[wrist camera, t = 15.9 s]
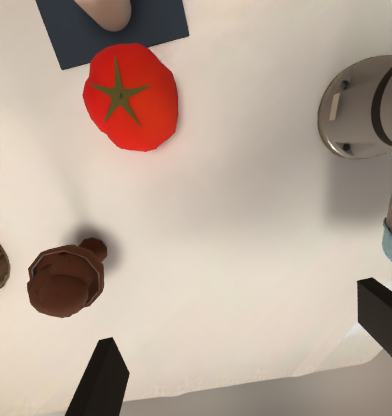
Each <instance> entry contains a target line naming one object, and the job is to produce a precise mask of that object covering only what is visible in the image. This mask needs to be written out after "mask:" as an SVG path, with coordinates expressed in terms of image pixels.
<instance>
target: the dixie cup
mask: <svg viewBox="0 0 392 416" xmlns="http://www.w3.org/2000/svg"><path fill="white" fill-rule="evenodd" d="M74 1H75V2H76V3H77V4H78V5H79V6H80V7H81V8H82V9H83V10H84V11H85V12H86V13H87V14H89V15H90V16H91V17H92V18H93V19H94V20H95V21H96V22H97V23H98V24H99V25H100V26H101V27H102V28H104V29H106V30H108V31H113V32H114V31H119V30H122V29H123V28H124V27H125V26H126V25H127V24H128V22H129V20H130V17H131V3H130V0H74Z"/></svg>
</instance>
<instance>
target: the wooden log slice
mask: <svg viewBox="0 0 392 416" xmlns="http://www.w3.org/2000/svg"><path fill="white" fill-rule="evenodd" d="M9 273H10V264H9V261H8V257H7V255H6V253H5V252H4V250H3V248H2V247H1V245H0V289H1V288H2V287H3V286H4V285H5V283H6V282H7V280H8V278H9Z"/></svg>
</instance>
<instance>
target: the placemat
mask: <svg viewBox="0 0 392 416" xmlns="http://www.w3.org/2000/svg"><path fill="white" fill-rule="evenodd" d="M36 3H37V6H38V8H39V11H40V14H41V16H42V19H43V22H44V24H45V27H46V30H47V32H48V35H49V38H50V40H51V43H52V46H53V48H54V51H55V54H56V56H57V59H58V61H59V64H60V67H61V69H62V70H64V69H68V68H72V67H76V66H79V65H83V64H87V63H90V62H91V60H92V59H93V58H94V57H95V55H96V54H97V53H99V52H100V51H102V50H104V49H105V48H107V47H109V46H113V45H118V44H130V43H139V44H141V45H143V46H144V47H150V46H154V45H157V44H161V43H165V42H169V41H172V40H176V39H180V38H183V37H187V36H189V31H188V26H187V22H186V17H185V12H184V7H183V3H182V0H130V3H131V17H130V20H129V22H128V24H127V25H126V26H125V27H124V28H123V29H122V30H119V31H114V32H113V31H108V30H106V29H104V28H102V27H101V26H100V25H99V24H98V23H97V22H96V21H95V20H94V19H93V18H92V17H91V16H90V15H89V14H87V13H86V12H85V11H84V10H83V9H82V8H81V7H80V6H79V5H78V4H77V3H76V2H75V1H74V0H36Z"/></svg>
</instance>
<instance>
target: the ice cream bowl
mask: <svg viewBox="0 0 392 416" xmlns="http://www.w3.org/2000/svg"><path fill="white" fill-rule="evenodd" d="M106 256H107V247H106V246H105V245H104V244H103V242H102V241H100V240H97V239H95V238H89V239H85V240H83V241H82V242H81V244H80V245H79V246H76V245H66V246H62V247H57V248H53V249H48V250H46V251H43V252H41V253H40V254H39V255H38V257H37V258H36V259H35V261H34V262H33V263H32V264H31V266H30V267H29V268H28V270H29V277H30V281H29V282H28V283H27V292H28V294H29V299H30V303H31V305H32V306H33V307H34V308H35V309H36V310H37V311H38V312H40V313H43V314H47V315H50V316H55V317H60V318H64V317H70V316H71V315H72V314H75V313H77V312H79V311H80V310H81V309H82V308H84V307H88V306H90V305H91V304H92V303H93V302H94V301H95V300H96V299H97V298H98V296H99V295H100V294H101V293H102V292H103V288H104V267H103V264H102V263H101V262H102V261H103V260H104V258H105V257H106Z"/></svg>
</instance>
